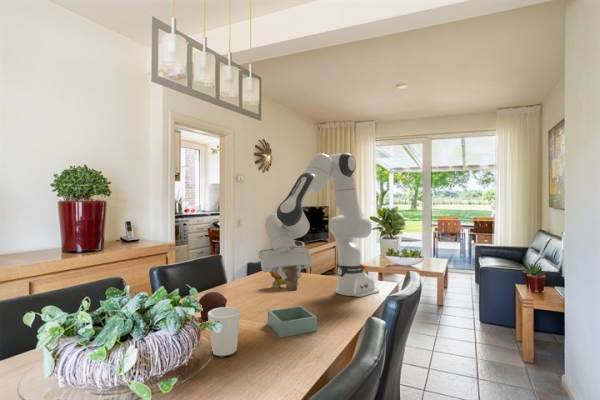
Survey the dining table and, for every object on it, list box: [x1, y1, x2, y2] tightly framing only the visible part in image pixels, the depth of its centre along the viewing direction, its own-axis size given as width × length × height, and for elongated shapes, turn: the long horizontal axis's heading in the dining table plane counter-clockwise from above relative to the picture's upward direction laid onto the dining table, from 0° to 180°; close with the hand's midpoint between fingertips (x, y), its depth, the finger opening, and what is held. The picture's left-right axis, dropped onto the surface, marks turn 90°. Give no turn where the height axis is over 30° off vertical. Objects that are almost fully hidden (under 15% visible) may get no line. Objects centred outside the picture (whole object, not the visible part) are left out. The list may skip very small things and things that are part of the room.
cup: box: [208, 306, 241, 359], centre depth 102 cm, size 10×10×13 cm
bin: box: [267, 305, 318, 338], centre depth 123 cm, size 14×14×5 cm
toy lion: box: [269, 270, 299, 289], centre depth 178 cm, size 16×6×15 cm, turn 77°
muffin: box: [198, 291, 228, 322], centre depth 132 cm, size 12×11×10 cm
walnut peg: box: [285, 267, 298, 292], centre depth 122 cm, size 4×4×8 cm
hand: (292, 278), depth 122 cm, fingers closed on walnut peg, 4 cm apart
